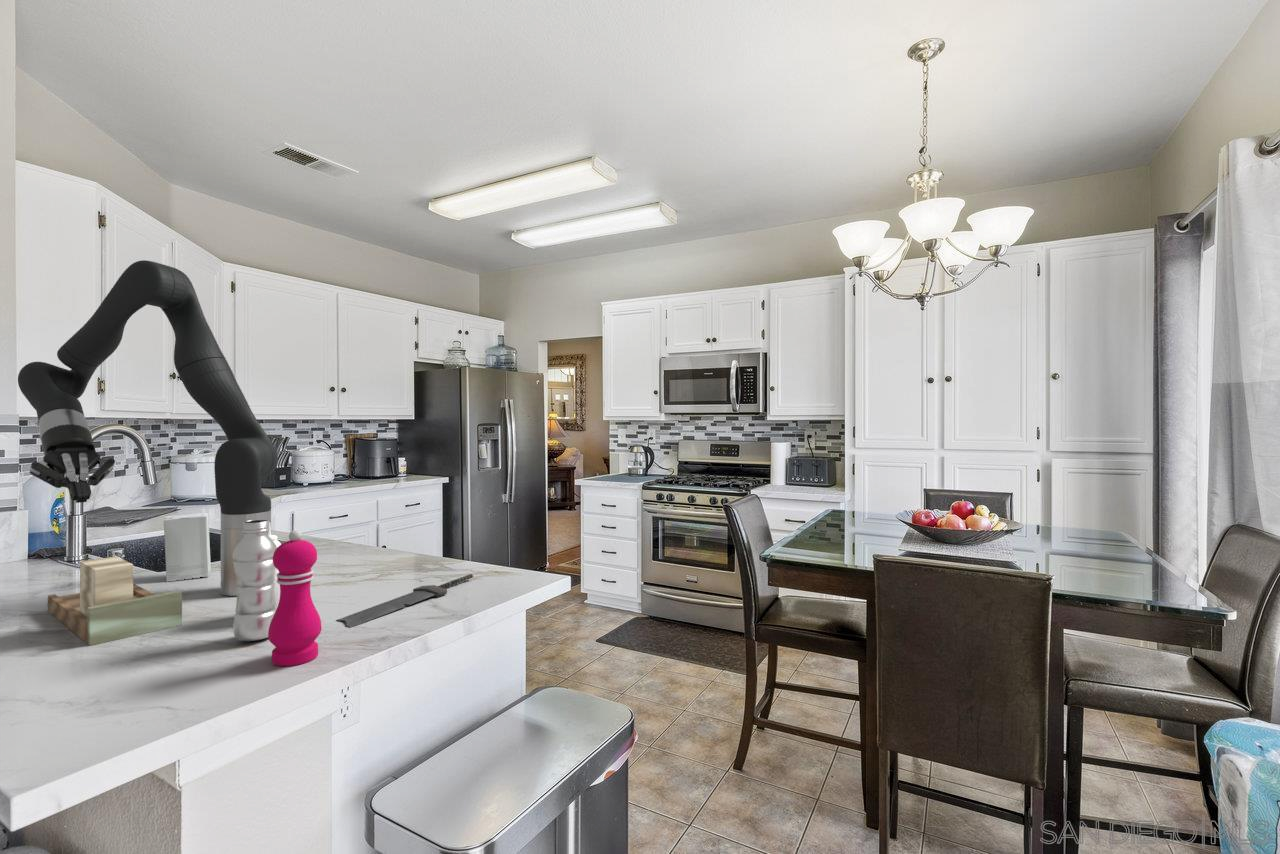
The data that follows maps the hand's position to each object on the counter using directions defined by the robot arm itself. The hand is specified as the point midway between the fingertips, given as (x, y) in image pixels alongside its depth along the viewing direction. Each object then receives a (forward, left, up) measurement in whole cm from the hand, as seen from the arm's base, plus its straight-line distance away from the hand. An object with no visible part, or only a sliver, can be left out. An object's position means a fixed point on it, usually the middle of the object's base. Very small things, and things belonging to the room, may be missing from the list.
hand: (82, 499), depth 116 cm
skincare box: (-5, -25, -22) cm, 33 cm away
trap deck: (-9, +6, -22) cm, 24 cm away
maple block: (-12, +13, -19) cm, 26 cm away
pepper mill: (-50, +31, -22) cm, 63 cm away
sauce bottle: (-37, +9, -22) cm, 44 cm away
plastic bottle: (-40, +21, -22) cm, 51 cm away
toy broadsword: (-62, +2, -22) cm, 66 cm away
